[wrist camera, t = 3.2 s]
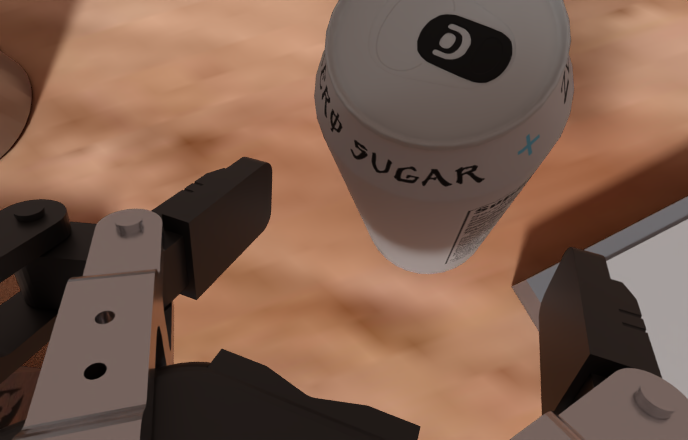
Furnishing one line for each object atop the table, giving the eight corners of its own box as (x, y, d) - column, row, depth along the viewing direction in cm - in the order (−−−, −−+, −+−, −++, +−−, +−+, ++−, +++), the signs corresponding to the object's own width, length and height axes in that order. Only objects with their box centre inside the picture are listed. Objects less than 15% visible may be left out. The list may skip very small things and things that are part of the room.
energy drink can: (404, 148, 24) (388, -118, 10) (505, 198, 23) (660, -32, 8) (348, 240, 23) (242, 96, 9) (449, 298, 22) (513, 236, 8)
